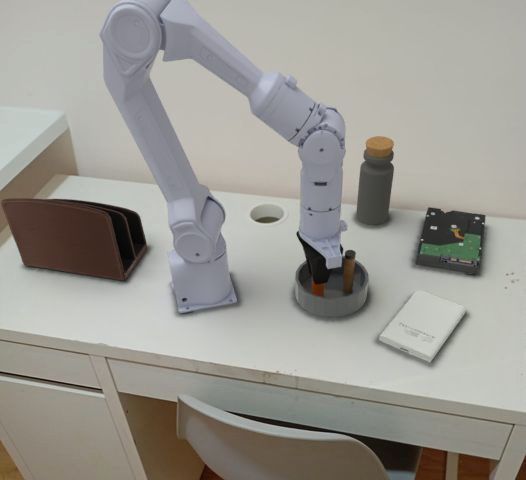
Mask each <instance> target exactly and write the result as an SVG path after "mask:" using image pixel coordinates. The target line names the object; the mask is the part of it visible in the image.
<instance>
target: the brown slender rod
mask: <svg viewBox="0 0 526 480" xmlns="http://www.w3.org/2000/svg"><path fill="white" fill-rule="evenodd" d="M356 254H357V253H356V251H355V250H353V249H347V250H345V251H344V256H345V261H344V275H343V289H342V291H343V292H344V293H351V292H352V289H353V277H354V266H355V260H356V256H357V255H356Z"/></svg>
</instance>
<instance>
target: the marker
mask: <svg viewBox="0 0 526 480" xmlns="http://www.w3.org/2000/svg"><path fill="white" fill-rule="evenodd" d="M312 294H314V295H316V296H321V297H324V283H323V284H317V285H315V284H314V281H313V278H312Z"/></svg>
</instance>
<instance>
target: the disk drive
mask: <svg viewBox="0 0 526 480" xmlns="http://www.w3.org/2000/svg"><path fill="white" fill-rule="evenodd" d="M485 225H486V214H481V213H475V212H474V213H472V212H465V211H459V210H451V211H446V212H445V211H444V210H442V209H441V208H438V207H430V206H429V207H428V208H427V210H426V213H425V219H424V223H423V227H422V231H421V234H420V240H419V242H418V246H417V247H418V248H417V253H416V257H415V265H417V266H420V267H421V266H422V267H427V268H428V267H429V268H435V269H440V270H441V269H442V270H447V271H454V272H460V273H464V274H468V275H478V272H479V269H480V266H481V265H480V264H481V258H482V254H483V252H482V250H483V243H484V235H485Z"/></svg>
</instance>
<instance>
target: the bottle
mask: <svg viewBox="0 0 526 480" xmlns="http://www.w3.org/2000/svg"><path fill="white" fill-rule="evenodd" d="M394 146H395V142H394V141H393V139H392V138H389V137H387V136H383V135H381V136H380V135H379V136H376V135H375V136H372V137H369V138H367V139H366V141H365V149H364V150H363V156H362V157H363V159H364V161H363V162H362V163H361V164H360V168H359V177H358V188H357V189H358V190H357V202H356V215H355V217H356V219H357V221H358V222H359V223H361V224H363V225H365V226H369V227H370V226H372V227H374V226H375V227H377V226H380V225H383V224H384V223H386V222H387V220H388V218H389V210H390V203H391V197H392V188H393V180H394V173H395V166H394V164H393V163H392V161H393V160H394V158H395V157H394V156H395V152H394V150H393V149H394V148H393V147H394Z"/></svg>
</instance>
